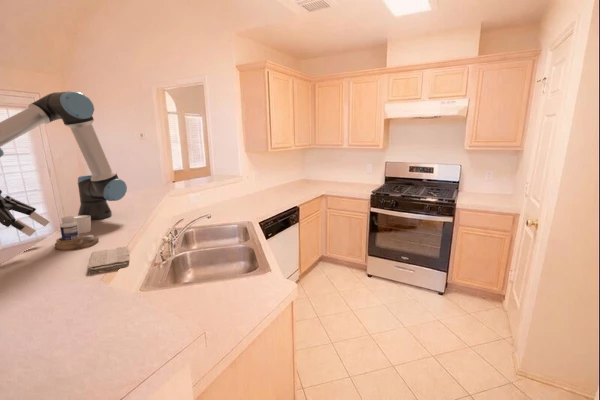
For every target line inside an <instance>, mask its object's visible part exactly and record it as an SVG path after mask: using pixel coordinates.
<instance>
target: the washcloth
mask: <svg viewBox="0 0 600 400" xmlns="http://www.w3.org/2000/svg"><path fill="white" fill-rule="evenodd" d="M130 256H131V255H130V250H129V246H121V247H120V246H119V247H115V248H110V249H101V250H95V251H92V252H91V254H90V258H89V262H88V264H87V269H86V270H87V271H88V272H89V273H90V274H92V273H91V272H99V271H105V272H109V271H115V270H121V269H125V268H128V267H129V265H130ZM99 273H100V272H99Z"/></svg>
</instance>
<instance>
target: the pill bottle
mask: <svg viewBox="0 0 600 400" xmlns="http://www.w3.org/2000/svg"><path fill="white" fill-rule="evenodd" d="M74 217H75V216H72V215H70V216H64V217H61V222H62V223H60V226H59V227H60V228H59V229H60V234H61V235H60V236H61V237H62V241H69V240H74V239H77V238H79V235H80V233H78V226H77V223H76V222H74V220H75V219H74Z"/></svg>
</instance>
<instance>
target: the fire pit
mask: <svg viewBox="0 0 600 400" xmlns="http://www.w3.org/2000/svg"><path fill="white" fill-rule="evenodd" d="M55 240H56V242H55V243H54V248H55V250H57V251H74V250H81V249H85V248H89V247H90V248H91V247H92V246H94V245H97V244H98V243H99V237H98V236H94V235H93V234H89V235H88V234H87V235H80V234H79V238H77V239H74V240H69V241H62V236H61V237H59V238H56V239H55Z"/></svg>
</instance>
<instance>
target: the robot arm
mask: <svg viewBox="0 0 600 400" xmlns="http://www.w3.org/2000/svg"><path fill="white" fill-rule="evenodd" d="M94 111H95V106H94V103H93V101H92V100H91V99H90V98H89V97H88V96H87V95H86V94H83V93H81V92H80V91H72V90H70V91H69V90H67V91H61V92H60V91H59V92H52V93H49V94H46V95H44V96H42V97H41V98H39V99H37V100H35V101H33V102H31V103H29V104H28V106H27V108H25V109H23V110H22V111H20V112H17V113H15V114H13V115H12V116H10V117H8V118H6V119H3V120H2V121H0V158H1V157H3V156H4V154H5V152H4V150H3V149H2V148H1V147H3V146H5V145H6V144H8V143H10V142H12V141H14V140H16V139H17V138H19V137H20V136H23V135H24V134H27V133H28V132H31V131H32V130H34V129H36V128H37V127H39V126H41V125H42V124H46V125H47V124H50V123H51V122H54V121H57V120H62V122H63V124H64V126H65V127H67V128H70V130H71V133H72V134H73V137H74V138H75V141H76V143H77V145H78V148H79V150H80V152H81V153H82V156H83V157H84V161H85V162H86V164H87V167H88V169H89V171H90V173H91V174H89V175H80V176H78V178H77V185H78V192H79V193H78V194H79V202H80V205H79V209H78V212H77V216H80V215H90V216H91V221H92V220H93V221H94V220H95V221H96V220H100V219H101V220H102V219H106V218H109V217H112V216H111V215H113V212H112V210H111V207H110V206H109V203H108V202H117V201H120V200H122V199H123V198H124V197H125V196H126V193H127V189H128V186H127V183H126V182H125V180H123V179H121V178H119V176H118V173H117V172H116V171H114V170H112V168H111V165H110V164H109V163H110V162H109V161H108V158H107V156H106V153H105V151H104V149H103V147H102V145H101V142H100V140H99V138H98V136H97V133H96V131H95V128H94V126H93V122H94V120H95V119H94V117H93V115H94ZM2 193H3V191H2V190H1V189H0V224H1V225H2V226H5V227H6V228H9V227H13V228H14V229H16V230H17V231H20V232H22V233H23V234H25V236H28V237H31V236H32V235H34V233H35V232H36V231H37V229H36V228H33V227H32V226H30V225H28V224H26V223H25V222H23V221H22V220H20V219H18V218H17V219H16V218H15V217H14V215H13V214H12V212H11V211H14V212H17V213H21V214H22V215H27V216H28V218H30V219H32V220H33V221H35V222H36V223H38V224H40V225H41V226H42V227H47V226H48V224H50V223H51V220H49V219H48V218H46V217H44V216H43V215H41V214H40V213H38V211H37V208H36V207H33V206H31V205H29V204H27V203H25V202H22V201H20V200H17V199H15V198H14V197H12V196H10V195H6V196H2Z"/></svg>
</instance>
